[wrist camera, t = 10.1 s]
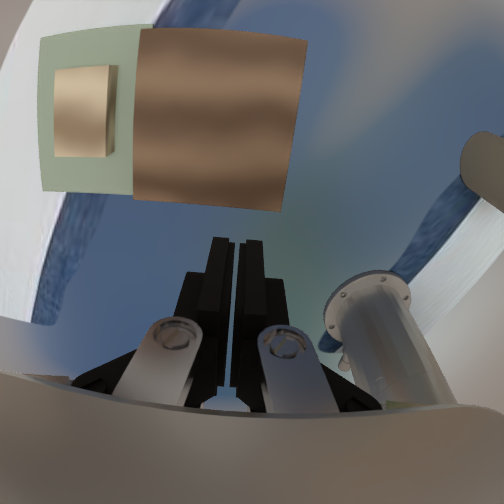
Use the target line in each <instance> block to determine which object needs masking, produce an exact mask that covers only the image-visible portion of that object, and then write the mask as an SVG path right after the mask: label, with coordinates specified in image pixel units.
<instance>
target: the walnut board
mask: <svg viewBox="0 0 504 504" xmlns="http://www.w3.org/2000/svg"><path fill="white" fill-rule="evenodd" d="M307 45H308V41H307V40H301V39H296V38H289V37H283V36H277V35H270V34H263V33H254V32H245V31H234V30H222V29H204V28H146V29H141V31H140V39H139V48H138V58H137V69H136V82H135V98H134V118H133V200H147V201H161V202H175V203H188V204H200V205H212V206H223V207H234V208H244V209H254V210H265V211H274V212H281V207H282V201H283V195H284V190H285V184H286V178H287V172H288V166H289V160H290V154H291V147H292V142H293V136H294V129H295V123H296V116H297V110H298V104H299V98H300V91H301V85H302V78H303V71H304V65H305V58H306V51H307Z"/></svg>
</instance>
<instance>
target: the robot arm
mask: <svg viewBox="0 0 504 504" xmlns="http://www.w3.org/2000/svg"><path fill="white" fill-rule="evenodd" d="M234 249H235V243H232V242H229V238H221V237H213V240H212V244H211V249H210V253H209V257H208V262H207V266H206V271H205V273H198V272H187V273H186V276H185V280H184V282H183V286H182V289H181V292H180V296H179V299H178V302H177V305H176V309H175V312H174V315H173V317H167V318H164V319H161V320H159V321H157V322H155V323H154V324H153V325H152V326H151V327H150V328H149V330H148V332H147V334H146V335H145V337H144V339H143V340H142V342H141V344H140V346H139V347H138V349H136V350H134V351H132V352H129V353H127V354H125V355H123V356H121V357H118V358H116V359H114V360H112V361H110V362H108V363H105V364H103V365H101V366H99V367H97V368H94V369H92V370H90V371H88V372H86V373H83V374H82V375H80V376H78V377H77V378H76V379H75V380H70V378H69V376H51V375H33V374H20V373H16V372H12V371H6V370H1V369H0V504H504V415H503V414H502V413H500V412H498V411H495V410H493V409H490V408H486V407H481V406H476V405H465V404H458V403H457V401H456V399H455V397H454V395H453V393H452V391H451V389H450V387H449V385H448V383H447V381H446V379H445V377H444V375H443V373H442V371H441V370H440V367H439V365H438V363H437V361H436V359H435V358H434V356H433V354H432V352H431V350H430V348H429V346H428V344H427V342H426V341H425V339H424V337H423V335H422V333H421V331H420V330H419V328H418V326H417V324H416V322H415V321H414V319H413V317H412V315H411V314H410V312H409V307H410V302H411V293H410V290H409V287H408V286H407V284H406V282H405V281H404V280H403V279H402V278H401V277H400V276H399V275H397V274H396V273H393V272H390V271H385V270H373V271H368V272H364V273H361V274H358V275H356V276H354V277H352V278H350V279H348V280H347V281H345V282H344V283H343V284H341V285H340V286H339V287H338V288H337V289H336V290H335V291H334V292H333V293H332V295H331V296H330V298H329V299H328V301H327V303H326V305H325V309H324V313H323V314H324V323H325V327H326V329H327V331H328V333H329V334H330V335H331V336H332V337H333V338H334V339H336V340H337V341H340V342H342V344H343V347H344V348H343V356H342V357H341V360H340V362H339V364H338V368H339V369H340V370H341V371H349V369H350V368H351V370H352V374H353V377H354V381H355V384H356V385H354V384H352V383H351V382H349V381H348V380H346V379H345V378H343V377H342V376H340V375H338V374H337V373H335V372H334V371H332V370H331V369H329V368H328V367H326V366H325V365H323V364H322V363H320V361H319V359H318V356H317V354H316V352H315V349H314V346H313V344H312V342H311V340H310V338H309V337H308V335H307V334H305V333H304V332H303V331H302V330H299V329H298V328H296V327H292V326H290V325H289V318H288V310H287V303H286V296H285V289H284V283H283V280H282V279H274V278H273V279H272V278H265V275H264V259H263V243H262V241H258V240H246V244H244V243H240V249H239V262H238V274H237V286H236V300H235V312H234V326H233V327H234V328H233V342H232V359H231V374H230V387H236V397H238V398H239V399H240V400H242V401H243V402H244V403H245V404H246V405H248V406H247V412H236V411H222V410H210V409H203V408H204V402H205V401H206V400H208V399H210V398H211V397H213V396H216V395H217V386H223V387H224V381H225V368H226V354H227V342H228V329H229V318H230V305H231V291H232V276H233V263H234V262H233V261H234Z"/></svg>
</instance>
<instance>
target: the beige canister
mask: <svg viewBox="0 0 504 504" xmlns="http://www.w3.org/2000/svg"><path fill="white" fill-rule="evenodd" d="M460 173H461V177H462V180H463V182H464V183H465V185H466V186H467V187H468V188H469V189H471V190H472V191H473V192H475V193H476V194H478V195H479V196H481V197H482V198H484V199H485V200H486V201H488V202H489V203H490V204H492V205H493V206H495V207H496V208H497V209H499V210H500V211H501V212H503V213H504V138H502V137H499V136H497V135H495V134H492V133H489V132H486V131H485V132H478V133H476V134H475V135H473V136H472V137H471V138H470V139H469V140H468V141H467V143H466V144H465V146H464V148H463V151H462V154H461V159H460Z"/></svg>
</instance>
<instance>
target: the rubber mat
mask: <svg viewBox="0 0 504 504" xmlns="http://www.w3.org/2000/svg"><path fill="white" fill-rule="evenodd" d="M153 27H154V24H141V25H126V26H114V27H104V28H96V29H88V30H81V31H75V32H69V33H63V34H58V35H53V36H48V37H43V38H41V40H40V51H39V65H38V91H37V117H38V143H39V158H40V170H41V180H42V189H43V191H55V192H83V193H105V194H124V195H133V118H134V98H135V82H136V69H137V58H138V48H139V39H140V31H141V29H146V28H153ZM104 65H119V67H118V79H117V93H116V111H115V150H114V152H113V153H111V154H110V155H108V156H107V157H55V152H54V82H55V70H60V69H69V68H79V67H90V66H104Z"/></svg>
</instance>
